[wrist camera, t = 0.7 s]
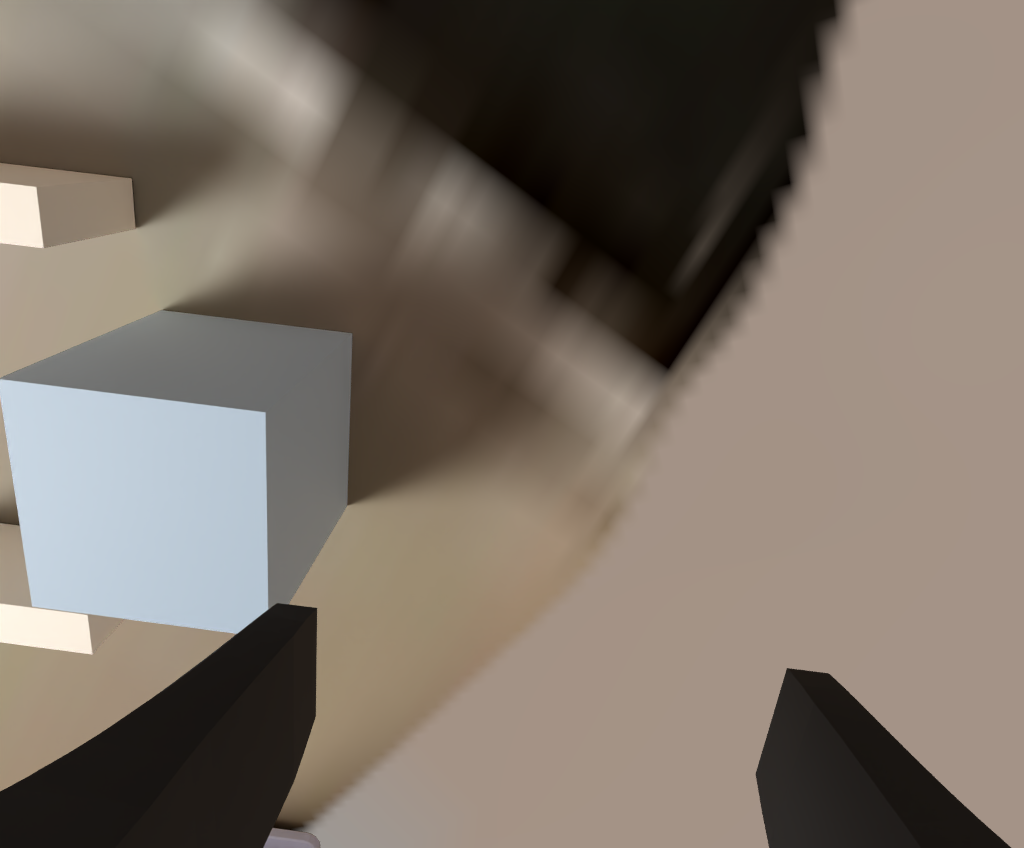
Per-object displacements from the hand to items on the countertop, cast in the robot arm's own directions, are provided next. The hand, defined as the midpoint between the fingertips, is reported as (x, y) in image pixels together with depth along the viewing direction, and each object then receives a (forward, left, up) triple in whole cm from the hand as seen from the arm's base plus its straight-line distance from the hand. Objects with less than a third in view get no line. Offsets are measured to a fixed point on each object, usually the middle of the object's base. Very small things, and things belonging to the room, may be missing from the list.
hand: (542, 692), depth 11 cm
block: (0, +8, -10) cm, 12 cm away
